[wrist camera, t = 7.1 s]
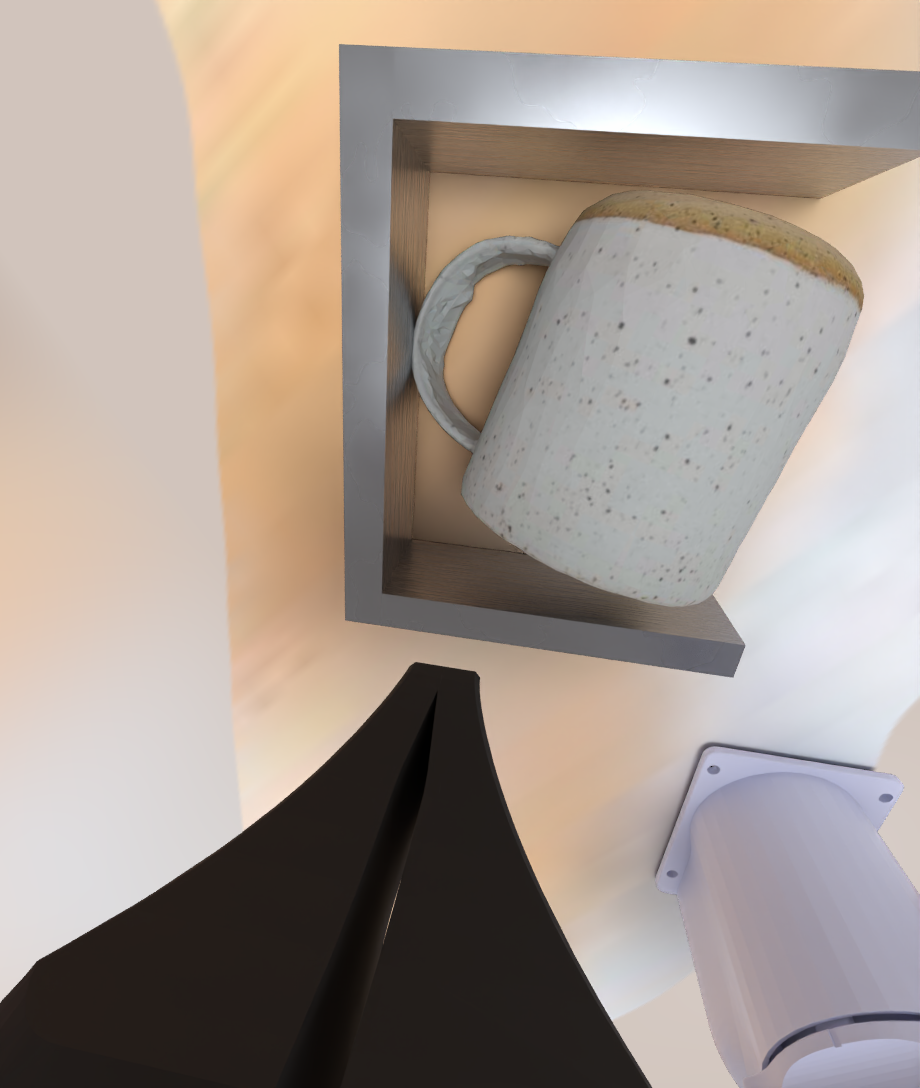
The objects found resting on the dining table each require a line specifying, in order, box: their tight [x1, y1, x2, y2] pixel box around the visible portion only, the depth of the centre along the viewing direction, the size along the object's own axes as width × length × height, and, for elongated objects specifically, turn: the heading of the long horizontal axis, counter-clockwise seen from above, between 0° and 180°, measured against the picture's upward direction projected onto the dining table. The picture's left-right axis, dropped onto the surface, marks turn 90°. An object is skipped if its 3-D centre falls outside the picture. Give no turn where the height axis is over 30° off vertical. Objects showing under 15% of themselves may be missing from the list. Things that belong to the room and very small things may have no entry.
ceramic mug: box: [412, 190, 864, 607], centre depth 14 cm, size 11×8×8 cm
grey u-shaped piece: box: [339, 44, 920, 677], centre depth 15 cm, size 14×12×4 cm
